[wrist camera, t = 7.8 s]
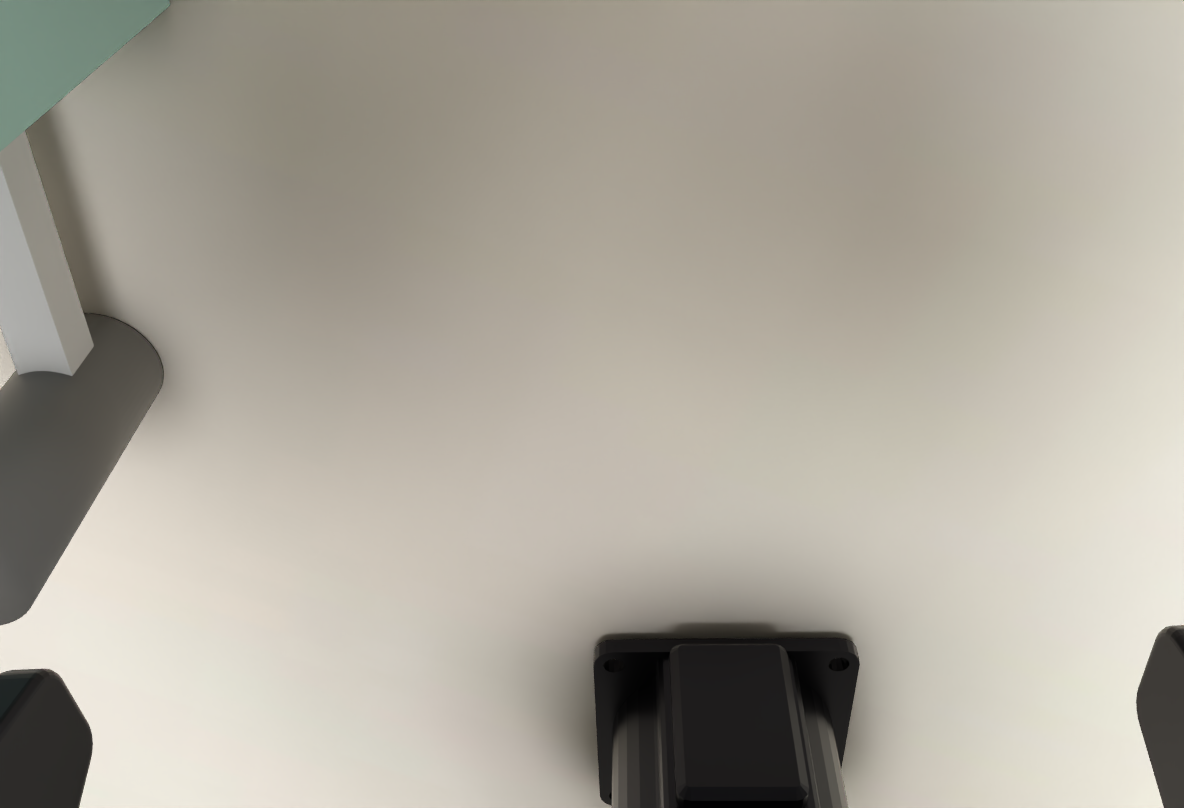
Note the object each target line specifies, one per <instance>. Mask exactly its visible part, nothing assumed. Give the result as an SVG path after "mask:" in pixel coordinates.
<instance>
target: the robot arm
mask: <svg viewBox="0 0 1184 808" xmlns="http://www.w3.org/2000/svg"><path fill="white" fill-rule="evenodd" d="M835 658H836V659H835ZM612 659H616V660H612ZM859 665H860V664H859V657H858V653H857V649H856V646H855V645H854V643H853V642H851V641H849V640H847V639H841V638H779V639H629V640H607V641H604V642H602V643H600V644H599V645H598V646H597V647H596V648H595V651H594V684H595V704H596V724H597V744H598V764H599V784H600V797H601V799H602V801H604V802H605V803H606V804H609V805H612V808H848V803H847V798H846V793H845V787H844V782H843V777H842V772H841V766H842V761H843V755H844V749H845V744H846V738H847V732H848V727H849V721H850V716H851V710H852V704H853V699H854V693H855V687H856V682H857V676H858V670H859ZM1136 703H1137V714H1138V720H1139V724H1140V727H1141V731H1142V734H1143V737H1144V741H1145V744H1146V748H1147V751H1148V755H1149V758H1150V761H1151V765H1152V768H1153V772H1154V775H1155V779H1156V782H1157V785H1158V789H1159V792H1160V796H1161V799H1162V803H1163V806H1164V808H1184V625H1178V626H1168V627H1165V628H1164V629H1163V630H1162V631H1160V632H1159V633H1158V635H1157V637H1156V640H1155V642H1154V645H1153V648H1152V651H1151V654H1150V656H1149V659H1148V662H1147V665H1146V668H1145V671H1144V673H1143V676H1142V679H1141V682H1140V685H1139V688H1138V692H1137V700H1136ZM92 746H93V741H92V733H91V729H90V726H89V724H88V722H87V720H86V719H85V717H84V715H83V714H82V712H81V710H80V709H79V707H78V705H77V703H76V702H75V700H74V698H73V697H72V695H71V693H70V692H69V690H68V688H67V686H66V685H65V683H64V681H63V680H62V678H61V677H60V676H59V675H58V674H57V673H56V672H54V671H52V670H50V669H28V670H11V671H6V672H3V673H1V674H0V808H79V805H80V801H81V797H82V793H83V789H84V785H85V781H86V777H87V773H88V769H89V765H90V760H91V755H92Z"/></svg>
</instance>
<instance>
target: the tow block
mask: <svg viewBox="0 0 1184 808" xmlns="http://www.w3.org/2000/svg"><path fill="white" fill-rule="evenodd" d="M169 6H170V1H169V0H0V328H1V331H2V333H3V336H4V338H5V341H6V344H7V346H8V349H9V352H10V354H11V357H12V360H13V362H14V365H15V368H16V371H15V372H14V373H13V375H12V376H11V377H10V378H9V380H8V381H7V382H6V383H5V385H4V386H3V387H2V388H1V390H0V625H3V624H8V623H10V622H13V621H15V620H17V619H19V618H21V617H22V616H23V615H24V614H26V613H27V611H28V610H29V609H30V608H31V606H32V604H33V603H34V601H35V599H36V598H37V596H38V594H39V593H40V591H41V589H42V588H43V586H44V584H45V583H46V581H47V579H48V577H49V576H50V574H51V572H52V571H53V569H54V567H55V566H56V564H57V562H58V561H59V559H60V557H61V556H62V554H63V552H64V551H65V549H66V547H67V546H68V544H69V542H70V541H71V539H72V537H73V535H74V534H75V532H76V530H77V529H78V527H79V525H80V524H81V522H82V520H83V519H84V517H85V515H86V514H87V512H88V510H89V509H90V507H91V505H92V504H93V502H94V500H95V498H96V497H97V495H98V493H99V492H100V490H101V488H102V487H103V485H104V483H105V482H106V480H107V478H108V477H109V475H110V473H111V472H112V470H113V468H114V467H115V465H116V463H117V462H118V460H119V458H120V456H121V455H122V453H123V451H124V450H125V448H126V446H127V445H128V443H129V441H130V440H131V438H132V436H133V435H134V433H135V431H136V430H137V428H138V426H139V425H140V423H141V421H142V420H143V418H144V416H145V414H146V413H147V411H148V409H149V408H150V406H151V404H152V403H153V401H154V399H155V398H156V396H157V394H158V393H159V391H160V389H161V386H162V383H163V368H162V364H161V361H160V358H159V356H158V355H157V353H156V351H155V350H154V348H153V347H152V345H151V344H150V343H149V342H148V341H147V340H146V339H145V338H144V337H143V336H142V335H141V334H140V333H139V332H137V331H136V330H135V329H133V328H132V327H130V326H128V325H127V324H125V323H123V322H121V321H118V320H116V319H113V318H110V317H107V316H103V315H97V314H84V313H83V310H82V307H81V304H80V301H79V297H78V294H77V291H76V288H75V285H74V282H73V279H72V275H71V272H70V269H69V266H68V263H67V260H66V257H65V254H64V250H63V247H62V244H61V241H60V238H59V235H58V232H57V229H56V225H55V222H54V219H53V216H52V213H51V210H50V207H49V203H48V200H47V197H46V194H45V191H44V188H43V185H42V182H41V178H40V175H39V172H38V169H37V166H36V163H35V160H34V157H33V153H32V150H31V147H30V144H29V141H28V138H27V135H26V131H25V130H26V129H27V128H28V127H30V126H31V125H32V124H33V123H34V122H35V121H37V120H38V119H39V118H40V117H41V116H42V115H44V114H45V113H46V112H47V111H48V110H49V109H50V108H52V107H53V106H54V105H55V104H56V103H57V102H59V101H60V100H61V99H62V98H63V97H64V96H66V95H67V94H68V93H69V92H70V91H71V90H73V89H74V88H75V87H76V86H77V85H78V84H80V83H81V82H82V81H83V80H84V79H85V78H87V77H88V76H89V75H90V74H91V73H92V72H93V71H95V70H96V69H97V68H98V67H99V66H100V65H102V64H103V63H104V62H105V61H106V60H107V59H109V58H110V57H111V56H112V55H113V54H114V53H116V52H117V51H118V50H119V49H120V48H121V47H123V46H124V45H125V44H126V43H127V42H128V41H129V40H131V39H132V38H133V37H134V36H135V35H136V34H138V33H139V32H140V31H141V30H142V29H143V28H145V27H146V26H147V25H148V24H149V23H150V22H152V21H153V20H154V19H155V18H156V17H157V16H159V15H160V14H161V13H162V12H163V11H164V10H165V9H167V8H168V7H169Z"/></svg>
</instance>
